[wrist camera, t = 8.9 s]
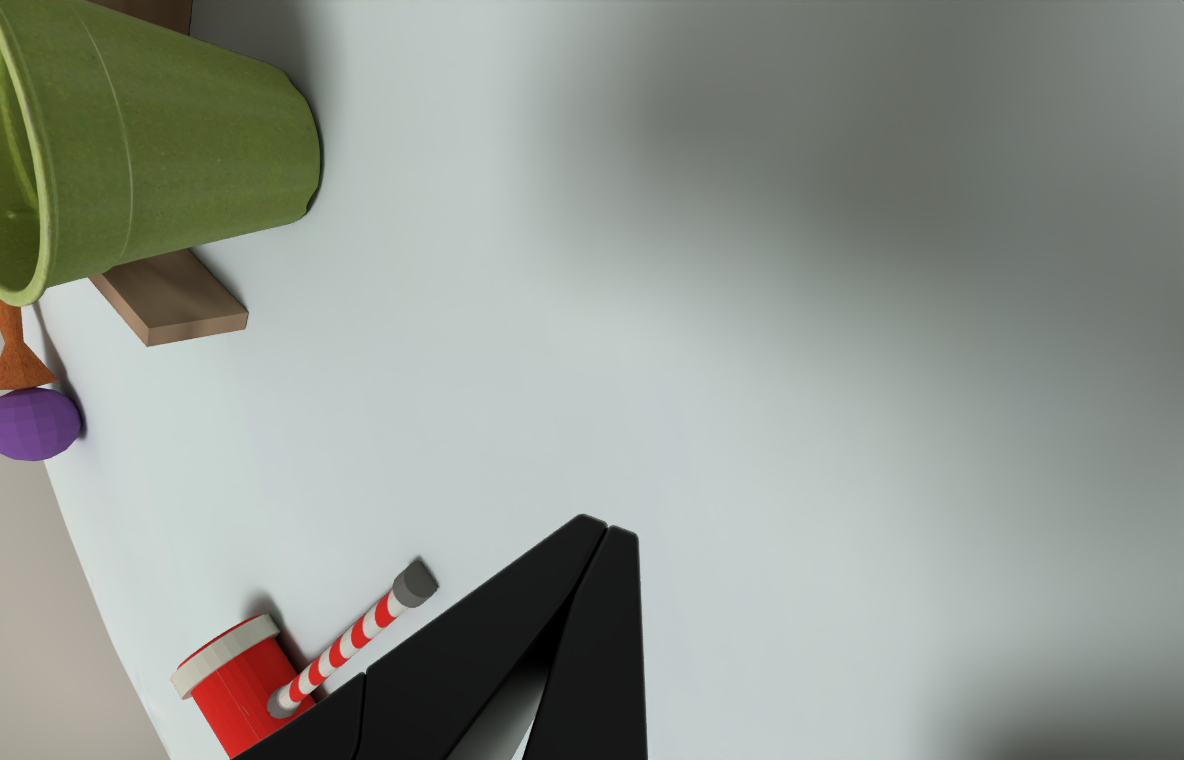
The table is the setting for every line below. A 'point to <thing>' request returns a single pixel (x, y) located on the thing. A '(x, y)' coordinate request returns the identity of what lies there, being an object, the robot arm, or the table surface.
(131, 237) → the plant pot
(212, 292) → the wooden frame
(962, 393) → the table surface
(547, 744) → the robot arm
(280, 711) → the toy hammer
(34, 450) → the kendama
